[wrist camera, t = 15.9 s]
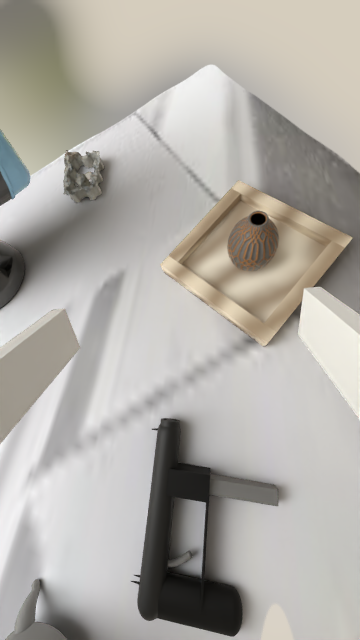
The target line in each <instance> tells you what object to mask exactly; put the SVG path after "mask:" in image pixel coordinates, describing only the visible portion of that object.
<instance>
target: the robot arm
mask: <svg viewBox="0 0 360 640" xmlns="http://www.w3.org/2000/svg"><path fill="white" fill-rule="evenodd" d="M29 183H30V174H29V171H28V169H27V168H26V166H25V165H24V163H23V162H22V160H21V159H20V157H19V156H18V154H17V153H16V151H15V150H14V148H13V147H12V145H11V144H10V142H9V141H8V139H7V138H6V137H5V135H4V134H3V132H2V131H1V129H0V206H1V205H2V204H4V203H6V202H7V201H9V200H10V199H14V198H15V195H16V194H18V193H19V192H20V191H22V190H23V189H24V188H26V187H27V186H28V185H29ZM24 272H25V264H24V260H23V257H22V255H21V254H20V252H19V251H18V250H16V249H15V248H13V247H12V246H10V245H9V244H8V243H6V242H4V241H2V240H0V308H1V307H3V306H4V305H5V304H6V303H8V302H9V301H10V300H11V299H12V297H13V296H14V295H15V294H16V292H17V291H18V289H19V287H20V285H21V283H22V280H23V277H24ZM298 336H299V337H300V338H301V340H302V341H303V342H304V344H305V345H306V347H307V348H308V349H309V351H310V352H311V353H312V355H313V356H314V358H315V359H316V360H317V362H318V363H319V364H320V366H321V367H322V369H323V370H324V371H325V373H326V374H327V376H328V377H329V378H330V380H331V381H332V382H333V384H334V385H335V387H336V388H337V389H338V391H339V392H340V393H341V395H342V396H343V398H344V399H345V400H346V402H347V403H348V404H349V406H350V407H351V409H352V410H353V411H354V413H355V414H356V415H357V417H358V418H359V420H360V315H359V314H358V313H356V312H355V311H354V310H352V309H351V308H349V307H348V306H347V305H345V304H344V303H342V302H341V301H340V300H338V299H337V298H335V297H334V296H333V295H331V294H330V293H328V292H327V291H326V290H324V289H323V288H321V287H311V288H304V292H303V299H302V307H301V314H300V322H299V330H298ZM79 349H80V346H79V343H78V341H77V338H76V336H75V333H74V331H73V328H72V326H71V323H70V321H69V318H68V315H67V313H66V310H65V309H55V310H52V311H50V312H49V313H48V314H46V315H45V316H43V317H42V318H41V319H39V320H38V321H37V322H35V323H34V324H32V325H31V326H30V327H28V328H27V329H25V330H24V331H23V332H21V333H20V334H19V335H17V336H16V337H14V338H13V339H12V340H10V341H9V342H8V343H6V344H5V345H3V346H2V347H1V348H0V444H1V442H2V441H3V440H4V439H5V438H6V436H7V435H8V434H9V433H10V432H11V430H12V429H13V428H14V427H15V426H16V424H17V423H18V422H19V421H20V420H21V418H22V417H23V416H24V415H25V414H26V412H27V411H28V410H29V409H30V408H31V406H32V405H33V404H34V403H35V402H36V400H37V399H38V398H39V397H40V396H41V394H42V393H43V392H44V391H45V390H46V388H47V387H48V386H49V385H50V384H51V382H52V381H53V380H54V379H55V378H56V376H57V375H58V374H59V373H60V372H61V370H62V369H63V368H64V367H65V366H66V364H67V363H68V362H69V361H70V360H71V358H72V357H73V356H74V355H75V354H76V352H77V351H78V350H79Z"/></svg>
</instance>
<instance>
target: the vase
mask: <svg viewBox="0 0 360 640" xmlns="http://www.w3.org/2000/svg"><path fill="white" fill-rule="evenodd" d="M278 244H279V234H278V230H277V227H276V225H275V224H274V222H273V221H272V220H270V219H269V217H268V215H267V214H266V213H265V212H263V211H254V212H252V213H251V214H250V215H249V216H247V217H245V218H243V219H241V220H240V221H239V222H238V223H237V224H236V225H235V226H234V228H233V229H232V231H231V233H230V235H229V238H228V244H227V249H228V255H229V258H230V260H231V261H232V263H233V264H234V265H235V266H236V267H237V268H239V269H241V270H244V271H255V270H258V269H261V268H263V267H264V266H266V265H267V264H268V263H269V262H270V261H271V260H272V258H273V257H274V255H275V253H276V251H277V248H278Z"/></svg>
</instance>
